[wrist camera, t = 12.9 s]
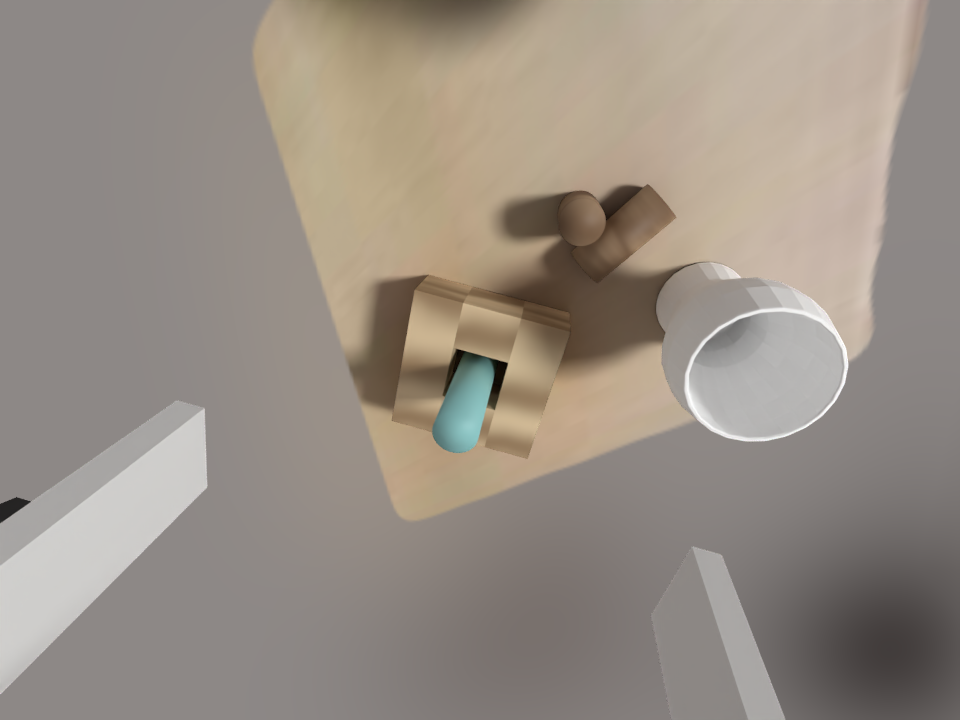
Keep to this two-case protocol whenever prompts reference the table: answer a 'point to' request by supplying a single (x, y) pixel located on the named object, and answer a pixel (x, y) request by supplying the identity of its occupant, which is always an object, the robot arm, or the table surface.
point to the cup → (748, 353)
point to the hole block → (488, 332)
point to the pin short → (580, 218)
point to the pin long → (465, 404)
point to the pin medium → (624, 233)
